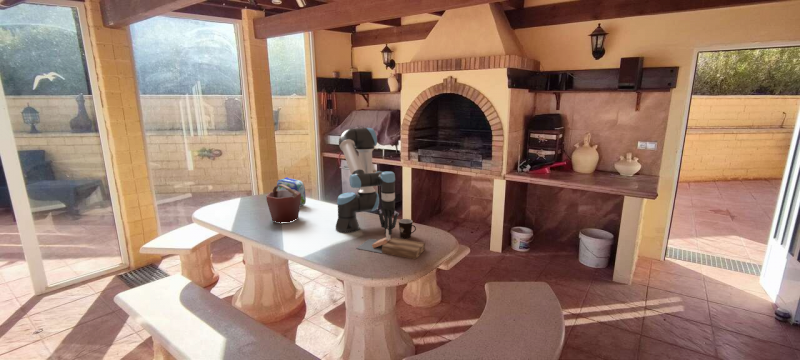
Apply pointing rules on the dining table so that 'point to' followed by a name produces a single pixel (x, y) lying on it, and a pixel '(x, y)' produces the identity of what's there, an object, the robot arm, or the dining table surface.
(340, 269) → the dining table surface
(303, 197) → the lunch box
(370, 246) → the mat
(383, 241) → the tile
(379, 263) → the dining table surface
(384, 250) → the block
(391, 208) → the robot arm
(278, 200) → the bucket
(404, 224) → the coffee mug
